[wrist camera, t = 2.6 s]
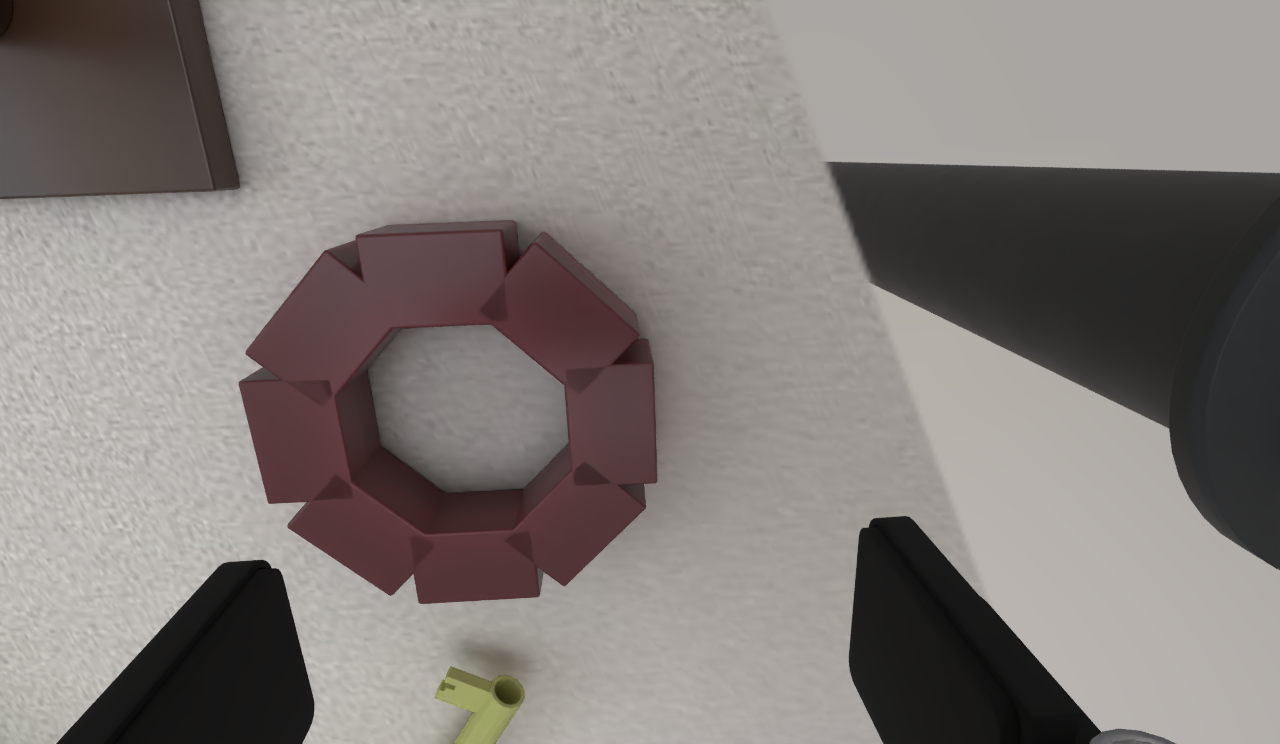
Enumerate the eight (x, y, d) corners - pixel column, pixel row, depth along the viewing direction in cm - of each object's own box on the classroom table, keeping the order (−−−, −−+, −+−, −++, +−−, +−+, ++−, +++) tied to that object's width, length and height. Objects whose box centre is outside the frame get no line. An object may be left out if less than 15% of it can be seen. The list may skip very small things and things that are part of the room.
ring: (644, 214, 18) (649, 223, 16) (655, 545, 22) (660, 591, 19) (254, 229, 18) (202, 240, 15) (327, 563, 21) (294, 612, 19)
